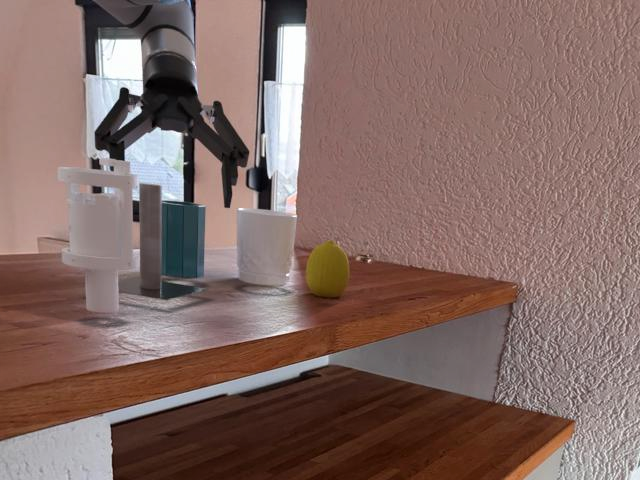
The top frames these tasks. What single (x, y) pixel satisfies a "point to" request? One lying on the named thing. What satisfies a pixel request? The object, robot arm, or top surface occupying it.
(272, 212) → the white cup
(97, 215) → the white stepped cylinder
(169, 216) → the ring sleeve
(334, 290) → the lemon
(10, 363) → the top surface
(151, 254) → the grey peg stand
